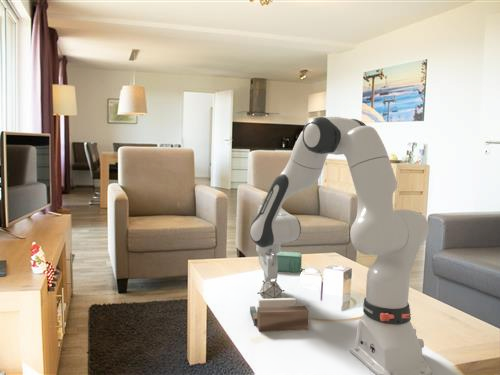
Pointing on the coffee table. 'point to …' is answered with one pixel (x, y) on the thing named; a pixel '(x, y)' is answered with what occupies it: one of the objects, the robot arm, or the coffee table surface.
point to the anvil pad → (277, 302)
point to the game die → (270, 290)
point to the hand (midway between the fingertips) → (267, 283)
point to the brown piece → (280, 318)
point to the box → (289, 261)
